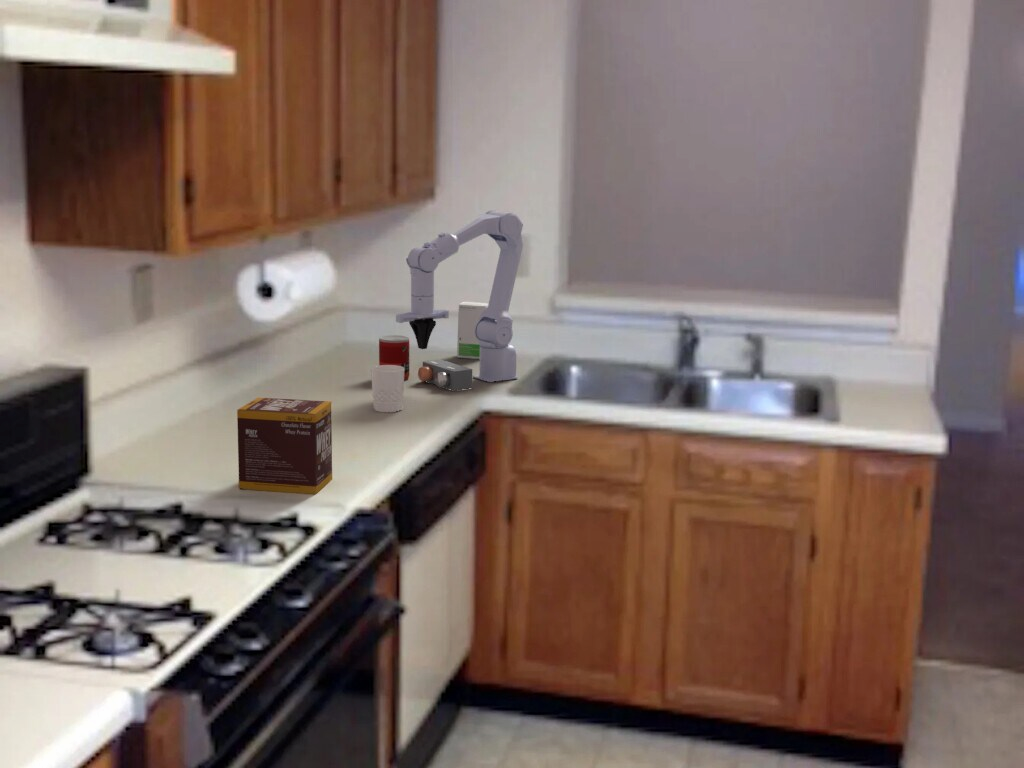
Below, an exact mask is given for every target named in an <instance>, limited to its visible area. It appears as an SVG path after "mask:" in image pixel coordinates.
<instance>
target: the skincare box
mask: <svg viewBox="0 0 1024 768" xmlns="http://www.w3.org/2000/svg"><path fill="white" fill-rule="evenodd" d="M488 304H489V302H487V303H486V302H478V301H477V302H476V301H462V302H461V303H459V304H458V317H457V319H458V320H457V343H456V344H457V347H456V357H457V358H458V359H459V358H461V359H473V360H480V344H479V340H478V339H477V338H476V336H475V333H474V329H475V326H476V324H477V322H478V321H479V319H480V316H481V313H482V312H483V311H484V310H485V309H486V308H487V307H488Z"/></svg>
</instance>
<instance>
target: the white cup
mask: <svg viewBox="0 0 1024 768" xmlns="http://www.w3.org/2000/svg"><path fill="white" fill-rule="evenodd" d="M404 372H405V368H404V367H402V366H397V365H380V366H379V365H375V366H372V367H370V373H371V391H372V399H373V410H374V411H376V412H379V413H388V412H389V413H396V411H398V412H400V411H399V410H401V411H402V410H403V406H404V405H403V403H404V401H403V400H404V391H405V381H404Z"/></svg>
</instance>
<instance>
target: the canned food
mask: <svg viewBox="0 0 1024 768" xmlns="http://www.w3.org/2000/svg"><path fill="white" fill-rule="evenodd" d="M378 360H379V361H378V366H380V365H397V366H402V367H404V368H405V372H404V380H405V381H407V380H409V379H410V337H409V336H406V335H392V334H389V335H382V336H380V337H379V339H378Z"/></svg>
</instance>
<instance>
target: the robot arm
mask: <svg viewBox="0 0 1024 768" xmlns="http://www.w3.org/2000/svg"><path fill="white" fill-rule="evenodd" d="M523 227H524V224H523V222H522V221H521V219H520V217H519V216H518V215H517V214H516V213H514V212H504V211H503V212H502V211H496V210H488V211H487V212H485V213H482V214H480V215H478V217H477V218H475V219H474V220H473V221H471V222H470V223H468V224H466V225H465V226H463V227H462V228H460V229H458V230H457V231H455V232H454V233H450V232H440V233H439V234H437V237H436V238H435V239H433V240H431V241H429V242H428V241H426V242H424V243H423V246H422V247H421V246H416V247H413V248H412V249H411V250H410V252H409V253H408V255H407V256H408V257H406V259H405V261H406V264H407V267H409V272H410V303H411V304H410V307H411V308H410V311H408V312H403V313H398V314H395V323H399V324H404V323H407V322H408V323H409V326H410V328H411V329H412V331H413V334H414V337H415V339H416V343H417V348H418V349H419V350H427V349H428V346H429V345H428V344H429V342H430V341H429V340H430V338H431V335H432V332H433V330H434V329H435V327H436V325H437V322H436V320H438V319H449V315H450V313H449V310H446V309H437V310H436V309H435V300H434V299H435V287H434V286H435V270H436V269H437V268H438V266H439V264H440V263H441V262H443V261H445V260H447V259H449V258H450V257H452V256H453V255H455V254H457V253H458V251H459V248H460V246H462V245H464V244H466V243H468V242H469V241H472V240H473V239H476V238H478V237H480V236H482V235H484V234H486V235H488V236H489V237H490V238H491V239H492V240H493V241H495V243H496V244H497V245H498V248H499V249H500V250H499V251H500V252H499V255H498V260H497V264H496V268H495V269H496V270H495V274H494V277H493V278H494V279H493V283H492V288H491V292H490V296H489V302H488V303H489V304H488V307H487V308H486V309H485V310H484V311H483V312H482V313H481V316H480V319H479V321H478V322H477V324H476V326H475V329H474V333H475V336H476V338H477V339H478V340H479V344H480V359H479V369H478V370H479V372H478V373H479V374H475V375H473V374H472V378H474V379H477V380H481V381H484V382H486V381H487V383H495V382H494V381H496V382H502V380H503V381H509V380H510V381H511V380H516V379H518V378H519V377H518V376H517V352H516V349H515V347H514V345H512V344H510V343H511V341H512V339H513V336H514V335H513V334H514V333H513V323H514V319H513V318H512V316H511V314H510V313H509V309H510V305H511V301H512V296H513V291H514V288H515V283H516V278H517V274H518V269H519V264H520V260H521V256H522V251H523V244H524V243H523V237H522V231H523Z"/></svg>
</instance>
